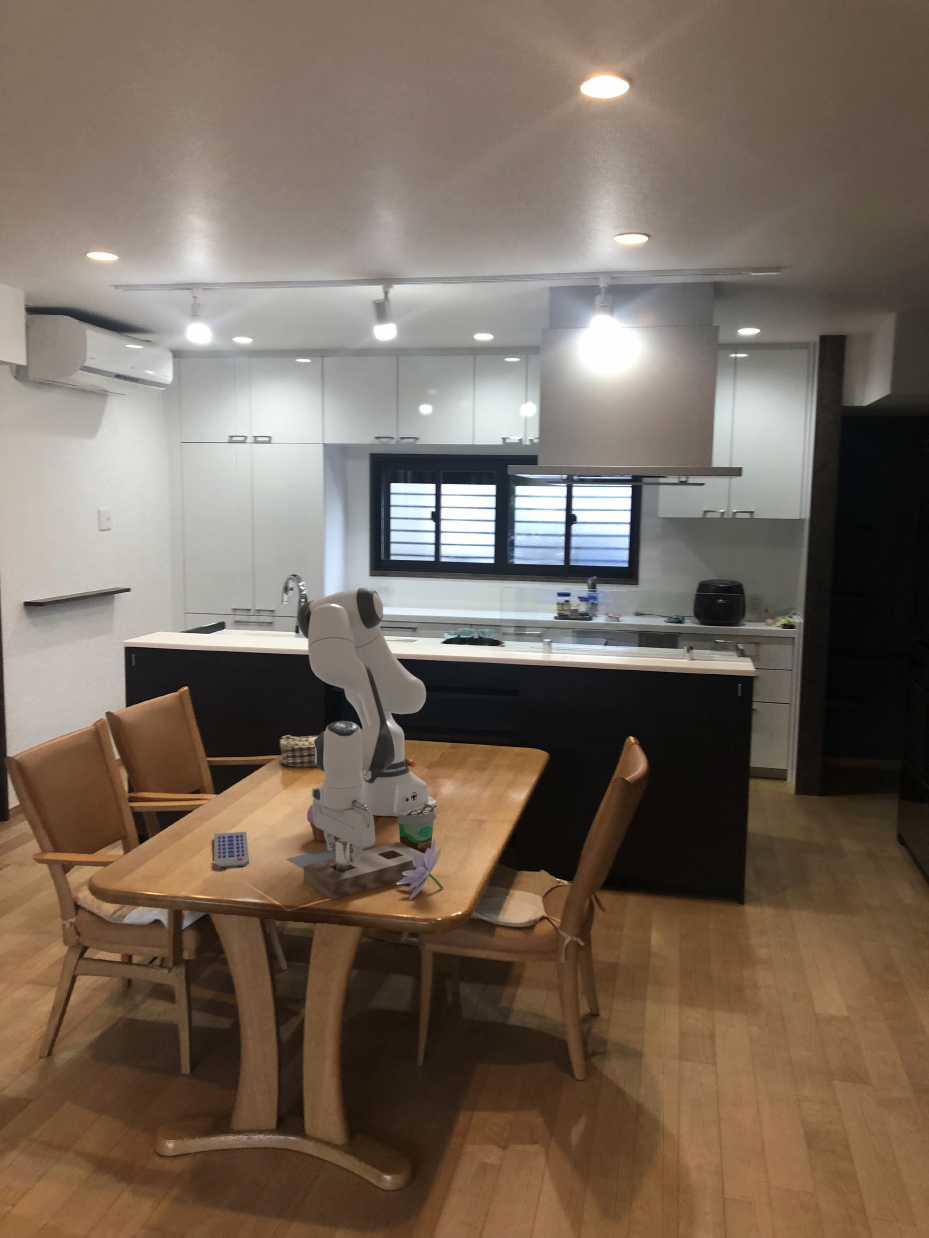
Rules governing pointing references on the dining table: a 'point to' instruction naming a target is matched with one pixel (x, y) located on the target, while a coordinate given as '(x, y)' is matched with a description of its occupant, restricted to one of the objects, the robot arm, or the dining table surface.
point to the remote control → (230, 850)
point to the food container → (417, 828)
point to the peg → (342, 855)
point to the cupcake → (317, 832)
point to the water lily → (421, 870)
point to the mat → (312, 858)
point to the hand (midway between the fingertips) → (343, 856)
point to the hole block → (362, 871)
